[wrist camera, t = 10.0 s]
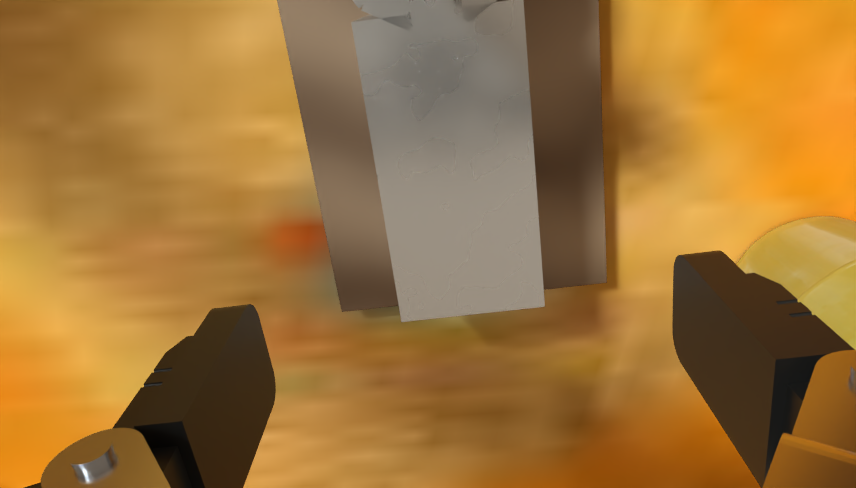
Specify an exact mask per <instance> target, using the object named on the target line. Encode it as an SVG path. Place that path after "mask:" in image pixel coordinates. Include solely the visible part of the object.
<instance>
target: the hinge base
mask: <svg viewBox="0 0 856 488" xmlns="http://www.w3.org/2000/svg"><path fill="white" fill-rule="evenodd" d="M523 1H524V15H525V30H526V44H527V58H528V73H529V87H530V101H531V115H532V130H533V144H534V158H535V173H536V187H537V201H538V215H539V230H540V244H541V258H542V272H543V287H544V289H553V288H562V287H571V286H580V285H590V284H599V283H607V272H606V238H605V205H604V171H603V137H602V103H601V69H600V36H599V2H598V0H523ZM277 2H278V7H279V12H280V16H281V21H282V26H283V31H284V36H285V40H286V45H287V50H288V55H289V60H290V65H291V69H292V74H293V79H294V84H295V89H296V93H297V98H298V103H299V108H300V113H301V117H302V122H303V127H304V132H305V137H306V141H307V146H308V151H309V156H310V161H311V165H312V170H313V175H314V180H315V185H316V189H317V194H318V199H319V204H320V209H321V213H322V218H323V223H324V228H325V233H326V237H327V242H328V247H329V252H330V257H331V261H332V266H333V271H334V276H335V281H336V286H337V290H338V295H339V300H340V305H341V310H342V312H344V311H353V310H362V309H371V308H381V307H390V306H399V304H398V298H397V292H396V287H395V281H394V275H393V269H392V263H391V257H390V251H389V245H388V239H387V233H386V227H385V221H384V215H383V209H382V203H381V197H380V191H379V185H378V179H377V173H376V167H375V161H374V155H373V149H372V144H371V138H370V132H369V126H368V120H367V114H366V108H365V102H364V96H363V90H362V84H361V78H360V72H359V66H358V60H357V54H356V48H355V42H354V36H353V30H352V24H351V22H353V21H355V20H357V19H360V18H362V17H364V16H367V15H370V14H368V13H366V12H364V11H361V10H362V7H361V8H358V7H357V6H356V4H355V3H354V2H353V0H277Z"/></svg>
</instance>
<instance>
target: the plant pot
mask: <svg viewBox="0 0 856 488" xmlns="http://www.w3.org/2000/svg"><path fill="white" fill-rule="evenodd" d="M737 266H738V267H739V268H740V269H741V270H742V271H743V272H745V273H746V274H747V273H756V274H759V275H761V276H763V277H765V278H768V279H770V280H772V281H775V282H777V283H779V284H781V285H782V286H783V287H784V288H786V289H787V290H788V291H789V292H790V293H791V294H792V295H793V296H795V297H796V298H797V300H798V302H801V303H803V304H804V305H805V306H806V307H807V308H808V309H809V310H810V311H812V315H816V316H817V317H818V318H820V319H821V320H822V321H823V322H824V323H825V324H826V325H827V326H829V327H830V328H831V329H832V330H833V331H834V332H835V333H837V334H838V335H839V336H840V337H841V338H842V339H843V340H844V341H846V342H847V343H848V344H849V345H850V346H851V347H852V348H854V349H855V350H856V222H855V221H852V220H848V219H844V218H839V217H833V216H819V217H809V218H804V219H799V220H796V221H793V222H790V223H787V224H784V225H782V226H780V227H777V228H775V229H773V230H771V231H770V232H768V233H767V234H765V235H764V236H763V237H761V238H760V239H759V240H758V241H756V242H755V243H754V244H753V245H752V246H751V247H750V248H749V249H748V250H747V251H746V252H745V254H744V255H743V256H742V258H741V259H740V260H739V262H738V263H737Z"/></svg>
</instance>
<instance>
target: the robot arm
mask: <svg viewBox="0 0 856 488" xmlns="http://www.w3.org/2000/svg"><path fill="white" fill-rule="evenodd" d="M673 340H674V345H675V349H676V353H677V355H678V358H679V360H680V362H681V364H682V365H683V367H684V368H685V370H686V372H687V373H688V375H689V376H690V378H691V379H692V381H693V382H694V384H695V386H696V387H697V389H698V390H699V392H700V393H701V395H702V396H703V398H704V400H705V401H706V403H707V404H708V406H709V407H710V409H711V410H712V412H713V413H714V415H715V417H716V418H717V420H718V421H719V423H720V424H721V426H722V427H723V429H724V431H725V432H726V434H727V435H728V437H729V438H730V440H731V441H732V443H733V445H734V446H735V448H736V449H737V451H738V452H739V454H740V455H741V457H742V458H743V460H744V462H745V463H746V465H747V466H748V468H749V469H750V471H751V472H752V474H753V476H754V477H755V479H756V480H757V482H758V483H759V485H760V486H761V488H856V350H855V349H854V348H852V347H851V346H850V345H849V344H848V343H847V342H846V341H844V340H843V339H842V338H841V337H840V336H839V335H838V334H837V333H835V332H834V331H833V330H832V329H831V328H830V327H829V326H827V325H826V324H825V323H824V322H823V321H822V320H821V319H820V318H818V317H817V316H816V315H812V311H810V310H809V309H808V308H807V307H806V306H805V305H804V304H803V303H801V302H798V300H797V298H796V297H795V296H793V295H792V294H791V293H790V292H789V291H788V290H787V289H786V288H784V287H783V286H782V285H781V284H779V283H777V282H775V281H772V280H770V279H768V278H765V277H763V276H761V275H759V274H756V273H747V274H746V273H745V272H743V271H742V270H741V269H740V268H739V267H738V266H737V265H736V264H735V263H734V262H733V261H732V260H731V259H730V258H729V257H728V256H727V255H725V254H724V253H723V252H722V251H711V252H702V253H694V254H685V255H678V256H677V257H676V259H675V263H674V276H673ZM274 401H275V376H274V371H273V368H272V364H271V360H270V356H269V353H268V349H267V345H266V341H265V338H264V334H263V330H262V327H261V323H260V319H259V316H258V313H257V311H256V309H255V307H254V306H253V305H251V304H248V305H240V306H231V307H223V308H214V309H212V310H211V311H210V312H209V313H208V315H207V316H206V318H205V319H204V321H203V322H202V324H201V325H200V327H199V328H198V330H197V331H196V333H195V334H194V336H187V337H186V338H184V339H183V340H182V341H180V342H179V343H178V344H177V345H175V346H174V347H173V348H171V349H170V350H169V351H167V352H166V353H165V355H164V356H163V358H162V359H161V360H160V362H159V363H158V365H157V366H156V367H155V369H154V373H151V375H150V376H149V377H148V379H147V380H146V382H145V383H144V387H142V388H141V389H140V390H139V391H138V393H137V394H136V396H135V397H134V399H133V400H132V401H131V403H130V404H129V406H128V407H127V408H126V410H125V411H124V413H123V414H122V416H121V417H120V418H119V420H118V421H117V423H116V424H115V425H114V427H113V428H112V429H108V430H104V431H100V432H97V433H94V434H91V435H89V436H87V437H84V438H82V439H80V440H78V441H77V442H75V443H73V444H71V445H70V446H68V447H67V448H65V449H64V450H63V451H61V452H60V453H59V454H58V455H57V456H55V457H54V459H53V460H52V461H51V462H50V463H49V464H48V465H47V467H46V468H45V470H44V472H43V474H42V477H41V482H40V483H37V484H34V485H31V486H28V487H25V488H243V486H244V484H245V481H246V478H247V475H248V473H249V470H250V467H251V465H252V462H253V459H254V457H255V454H256V451H257V448H258V446H259V443H260V440H261V438H262V435H263V432H264V429H265V427H266V424H267V421H268V419H269V416H270V413H271V411H272V408H273V405H274Z"/></svg>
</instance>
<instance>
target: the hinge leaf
mask: <svg viewBox="0 0 856 488" xmlns="http://www.w3.org/2000/svg"><path fill="white" fill-rule="evenodd" d="M353 2H354V3H355V4H356V6H357V7H358V8H361V7H362V10H361V11H364V12H366V13H368V14H370V15H367V16H364V17H362V18H360V19H357V20H355V21H353V22H351V24H352V30H353V36H354V42H355V48H356V54H357V60H358V66H359V72H360V78H361V84H362V90H363V96H364V102H365V108H366V114H367V120H368V126H369V132H370V138H371V144H372V149H373V155H374V161H375V167H376V173H377V179H378V185H379V191H380V197H381V203H382V209H383V215H384V221H385V227H386V233H387V239H388V245H389V251H390V257H391V263H392V269H393V275H394V281H395V287H396V292H397V298H398V304H399V310H400V316H401V322H407V321H416V320H425V319H435V318H444V317H453V316H463V315H472V314H481V313H491V312H500V311H509V310H519V309H528V308H537V307H545V301H544V287H543V272H542V258H541V244H540V230H539V215H538V201H537V187H536V173H535V158H534V144H533V130H532V115H531V101H530V87H529V73H528V58H527V44H526V30H525V15H524V1H523V0H353Z"/></svg>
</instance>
